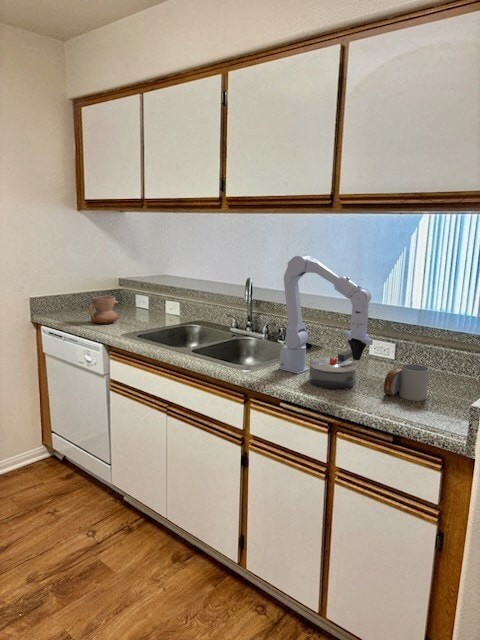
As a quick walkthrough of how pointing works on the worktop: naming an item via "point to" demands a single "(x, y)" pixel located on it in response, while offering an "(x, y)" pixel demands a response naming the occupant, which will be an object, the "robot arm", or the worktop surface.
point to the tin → (393, 381)
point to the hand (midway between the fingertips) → (356, 359)
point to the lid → (334, 363)
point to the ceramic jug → (103, 310)
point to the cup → (414, 382)
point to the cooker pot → (332, 379)
